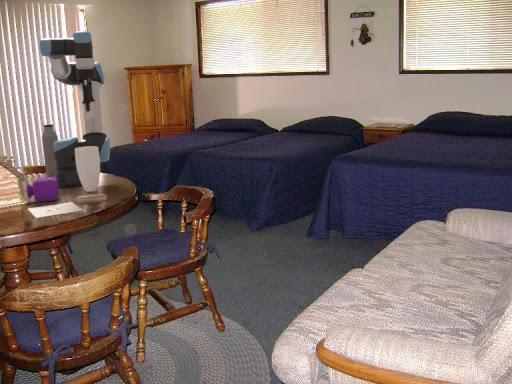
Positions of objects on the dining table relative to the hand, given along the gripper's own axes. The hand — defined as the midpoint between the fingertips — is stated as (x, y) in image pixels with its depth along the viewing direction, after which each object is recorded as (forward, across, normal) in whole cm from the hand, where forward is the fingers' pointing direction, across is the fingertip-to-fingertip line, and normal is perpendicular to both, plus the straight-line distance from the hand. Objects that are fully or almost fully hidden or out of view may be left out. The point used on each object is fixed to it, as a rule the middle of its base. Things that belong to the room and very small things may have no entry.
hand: (90, 117), depth 246 cm
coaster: (+35, -12, +2) cm, 37 cm away
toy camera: (+35, -4, +23) cm, 42 cm away
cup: (+33, -12, +2) cm, 36 cm away
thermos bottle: (+35, +55, +26) cm, 71 cm away
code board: (+35, -25, +16) cm, 45 cm away
